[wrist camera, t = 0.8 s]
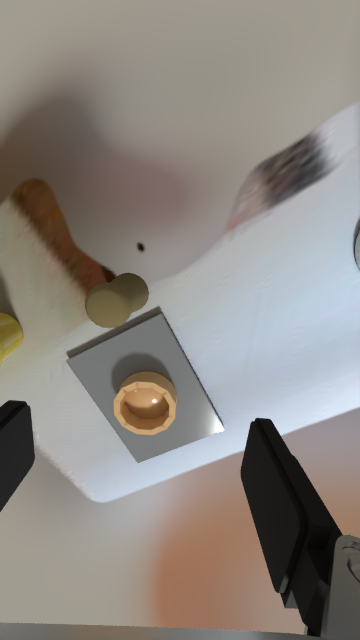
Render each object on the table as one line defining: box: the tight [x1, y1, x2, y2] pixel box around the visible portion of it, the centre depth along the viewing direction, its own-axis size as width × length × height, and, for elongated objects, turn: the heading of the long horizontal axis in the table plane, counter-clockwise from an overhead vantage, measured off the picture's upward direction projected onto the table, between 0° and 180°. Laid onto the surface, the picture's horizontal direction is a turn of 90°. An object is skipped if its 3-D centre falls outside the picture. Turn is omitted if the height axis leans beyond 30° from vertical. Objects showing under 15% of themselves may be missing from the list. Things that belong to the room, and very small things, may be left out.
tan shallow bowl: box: [114, 371, 177, 435], centre depth 37 cm, size 10×10×3 cm
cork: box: [85, 273, 149, 328], centre depth 29 cm, size 6×6×11 cm
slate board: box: [66, 312, 224, 463], centre depth 39 cm, size 18×24×1 cm
